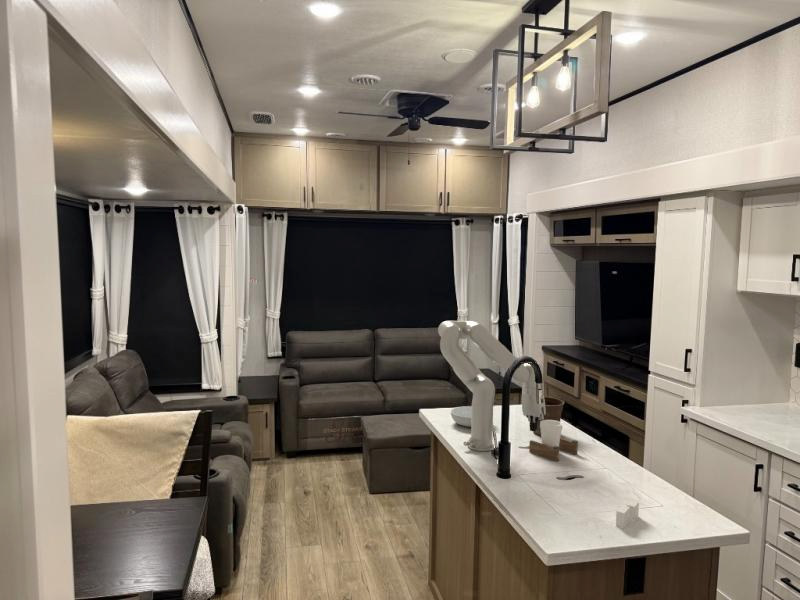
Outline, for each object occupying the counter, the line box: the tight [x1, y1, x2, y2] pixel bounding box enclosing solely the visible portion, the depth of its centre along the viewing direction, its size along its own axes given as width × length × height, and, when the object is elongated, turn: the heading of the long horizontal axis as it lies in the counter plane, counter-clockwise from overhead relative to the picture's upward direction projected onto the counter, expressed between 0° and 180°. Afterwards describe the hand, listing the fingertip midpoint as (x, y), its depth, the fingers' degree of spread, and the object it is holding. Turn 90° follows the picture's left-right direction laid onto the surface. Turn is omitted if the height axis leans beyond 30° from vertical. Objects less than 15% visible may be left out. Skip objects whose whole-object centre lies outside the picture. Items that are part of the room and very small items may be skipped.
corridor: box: [528, 437, 579, 463], centre depth 232 cm, size 15×14×6 cm
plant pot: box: [532, 396, 565, 437], centre depth 259 cm, size 16×16×16 cm
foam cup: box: [540, 420, 563, 447], centre depth 233 cm, size 10×9×13 cm
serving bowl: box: [450, 405, 472, 428], centre depth 273 cm, size 21×21×7 cm
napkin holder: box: [615, 499, 640, 529], centre depth 170 cm, size 15×11×6 cm
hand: (533, 430), depth 241 cm, fingers closed
